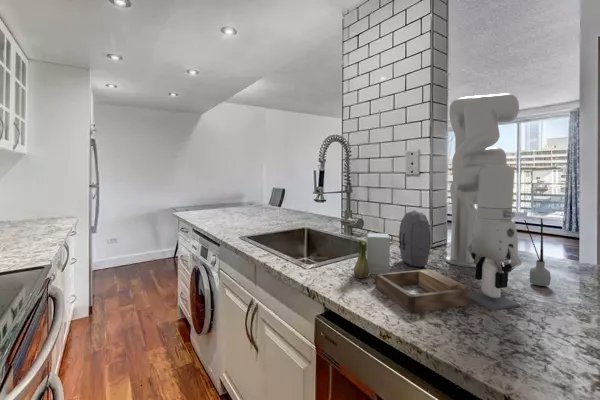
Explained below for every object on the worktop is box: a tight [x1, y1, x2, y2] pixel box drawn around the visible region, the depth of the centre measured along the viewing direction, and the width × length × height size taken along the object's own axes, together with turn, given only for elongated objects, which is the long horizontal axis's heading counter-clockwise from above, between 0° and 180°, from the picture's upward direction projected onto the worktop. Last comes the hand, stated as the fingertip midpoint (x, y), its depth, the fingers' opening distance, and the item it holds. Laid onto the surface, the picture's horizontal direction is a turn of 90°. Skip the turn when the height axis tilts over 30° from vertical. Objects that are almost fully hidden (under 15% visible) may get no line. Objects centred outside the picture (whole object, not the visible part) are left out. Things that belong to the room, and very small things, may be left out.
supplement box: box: [366, 232, 391, 275], centre depth 103 cm, size 7×7×13 cm
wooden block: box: [417, 269, 464, 293], centre depth 84 cm, size 4×13×4 cm, turn 14°
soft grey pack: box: [398, 210, 431, 267], centre depth 110 cm, size 15×8×20 cm, turn 3°
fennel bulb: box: [353, 240, 370, 279], centre depth 97 cm, size 6×5×12 cm
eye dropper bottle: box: [480, 258, 502, 298], centre depth 78 cm, size 4×6×12 cm
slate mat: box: [470, 291, 521, 311], centre depth 78 cm, size 9×9×1 cm
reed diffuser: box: [523, 218, 552, 287], centre depth 89 cm, size 10×7×20 cm
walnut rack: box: [374, 268, 472, 314], centre depth 82 cm, size 17×17×4 cm
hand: (490, 282), depth 78 cm, fingers closed on eye dropper bottle, 5 cm apart
